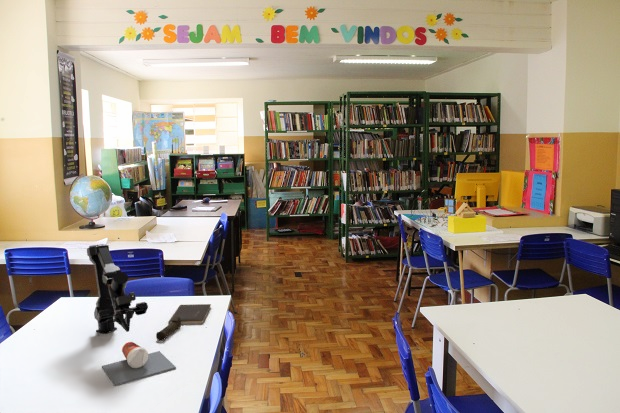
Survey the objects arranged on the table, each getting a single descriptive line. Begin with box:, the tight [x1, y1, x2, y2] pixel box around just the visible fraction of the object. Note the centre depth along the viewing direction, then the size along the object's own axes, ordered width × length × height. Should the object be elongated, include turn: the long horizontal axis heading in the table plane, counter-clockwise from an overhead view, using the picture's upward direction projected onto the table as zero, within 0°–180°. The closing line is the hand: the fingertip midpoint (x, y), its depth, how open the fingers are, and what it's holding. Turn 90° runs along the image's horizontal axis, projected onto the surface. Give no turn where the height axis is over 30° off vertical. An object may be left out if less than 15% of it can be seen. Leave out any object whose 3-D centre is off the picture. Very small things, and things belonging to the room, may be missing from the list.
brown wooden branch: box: [155, 317, 182, 341], centre depth 221 cm, size 19×4×5 cm, turn 166°
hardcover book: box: [167, 303, 212, 325], centre depth 242 cm, size 16×23×2 cm
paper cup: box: [121, 341, 149, 368], centre depth 189 cm, size 8×8×14 cm
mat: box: [101, 350, 177, 387], centre depth 186 cm, size 18×22×1 cm
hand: (128, 331), depth 194 cm, fingers closed
